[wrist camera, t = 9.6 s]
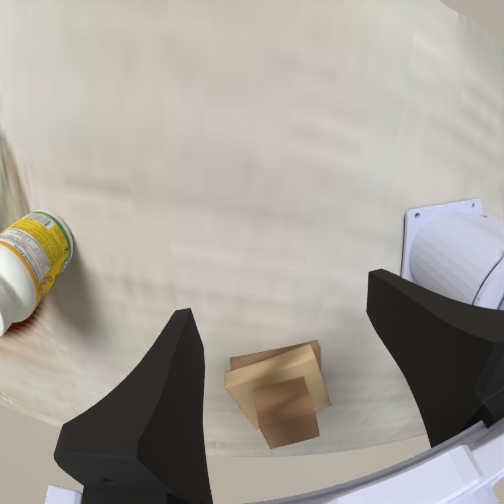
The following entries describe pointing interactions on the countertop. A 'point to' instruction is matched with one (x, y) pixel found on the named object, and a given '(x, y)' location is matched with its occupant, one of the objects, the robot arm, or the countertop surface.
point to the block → (285, 412)
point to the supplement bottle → (31, 263)
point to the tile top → (276, 379)
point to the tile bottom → (271, 355)
